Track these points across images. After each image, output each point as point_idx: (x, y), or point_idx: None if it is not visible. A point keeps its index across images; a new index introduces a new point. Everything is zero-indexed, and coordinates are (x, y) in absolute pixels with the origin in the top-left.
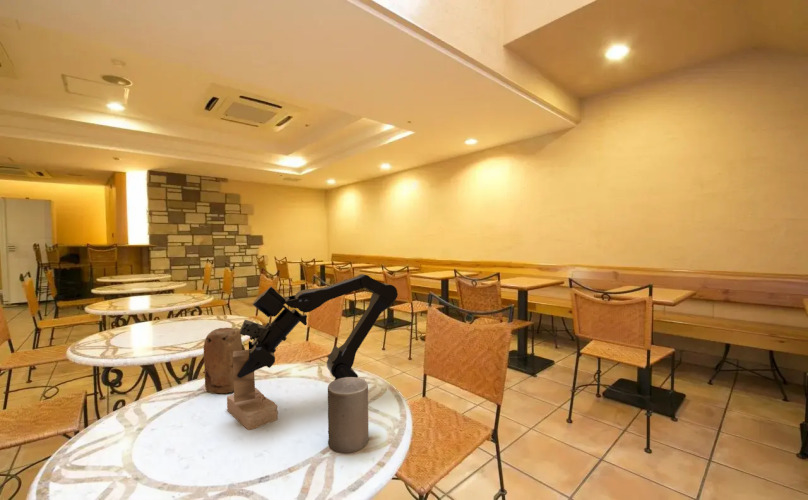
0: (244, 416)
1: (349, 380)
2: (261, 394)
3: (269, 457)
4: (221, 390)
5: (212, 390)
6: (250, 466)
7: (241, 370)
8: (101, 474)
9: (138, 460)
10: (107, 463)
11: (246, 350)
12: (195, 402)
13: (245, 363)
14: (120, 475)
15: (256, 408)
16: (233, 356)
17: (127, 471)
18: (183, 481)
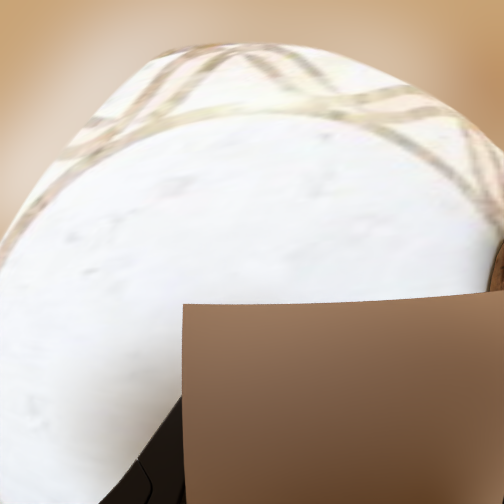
0: None
1: None
2: None
3: (16, 424)
4: (495, 281)
5: (499, 254)
6: (3, 376)
7: (169, 417)
8: (158, 96)
9: (171, 135)
10: (197, 93)
11: (477, 490)
12: (454, 217)
13: (141, 478)
14: (130, 123)
15: None
16: (214, 318)
17: (137, 129)
18: (28, 239)
